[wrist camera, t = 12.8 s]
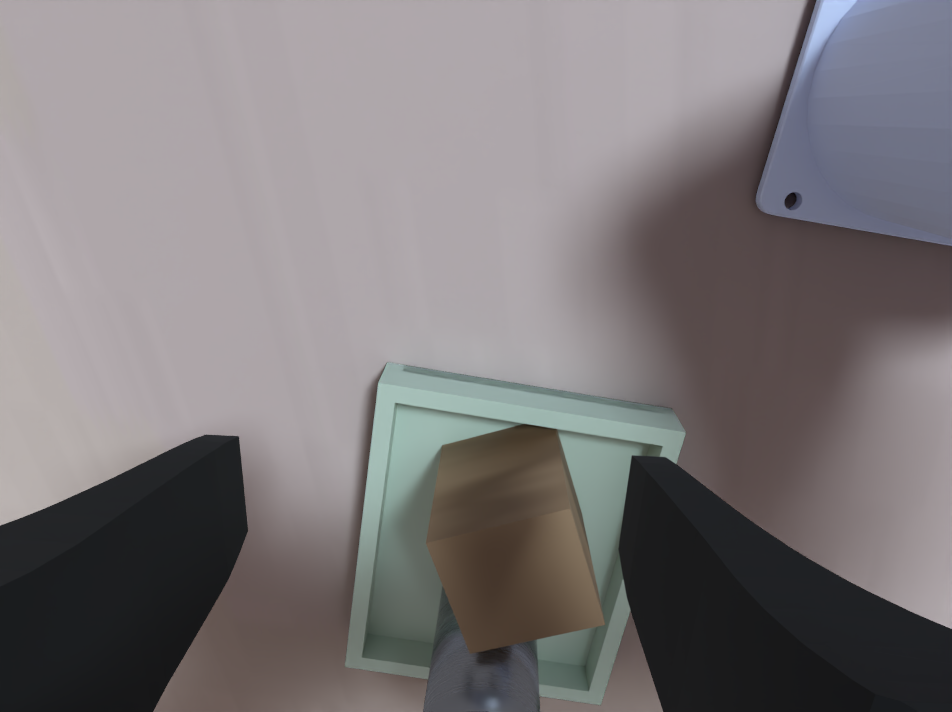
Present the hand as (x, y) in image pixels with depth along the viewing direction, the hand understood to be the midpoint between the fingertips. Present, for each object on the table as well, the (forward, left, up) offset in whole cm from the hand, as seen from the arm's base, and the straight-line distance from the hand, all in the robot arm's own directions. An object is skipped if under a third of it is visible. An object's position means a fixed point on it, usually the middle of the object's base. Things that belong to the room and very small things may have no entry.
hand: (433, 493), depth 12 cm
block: (-3, +5, -10) cm, 11 cm away
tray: (-3, +8, -10) cm, 13 cm away
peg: (-3, +10, -10) cm, 15 cm away
